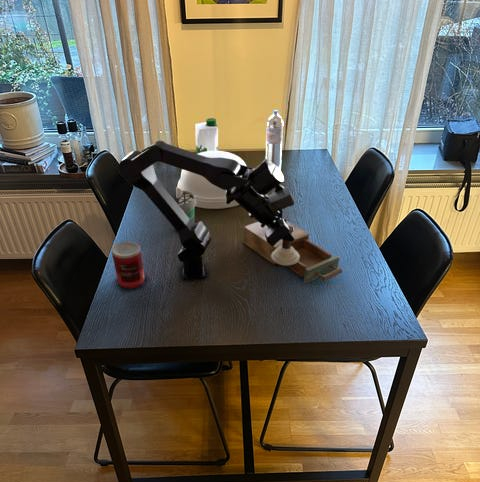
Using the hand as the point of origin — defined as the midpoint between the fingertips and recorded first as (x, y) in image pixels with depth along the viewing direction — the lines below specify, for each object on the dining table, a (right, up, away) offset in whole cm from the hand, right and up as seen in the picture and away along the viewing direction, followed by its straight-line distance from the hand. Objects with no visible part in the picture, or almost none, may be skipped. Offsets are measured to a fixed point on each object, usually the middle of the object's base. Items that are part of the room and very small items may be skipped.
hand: (291, 237), depth 124 cm
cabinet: (-3, 0, +21) cm, 22 cm away
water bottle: (0, +38, +69) cm, 79 cm away
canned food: (-46, -12, +6) cm, 48 cm away
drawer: (+7, -8, +11) cm, 15 cm away
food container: (-32, +13, +29) cm, 45 cm away
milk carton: (-28, +41, +72) cm, 88 cm away
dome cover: (-24, +26, +54) cm, 64 cm away
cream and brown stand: (-1, -5, +4) cm, 7 cm away
